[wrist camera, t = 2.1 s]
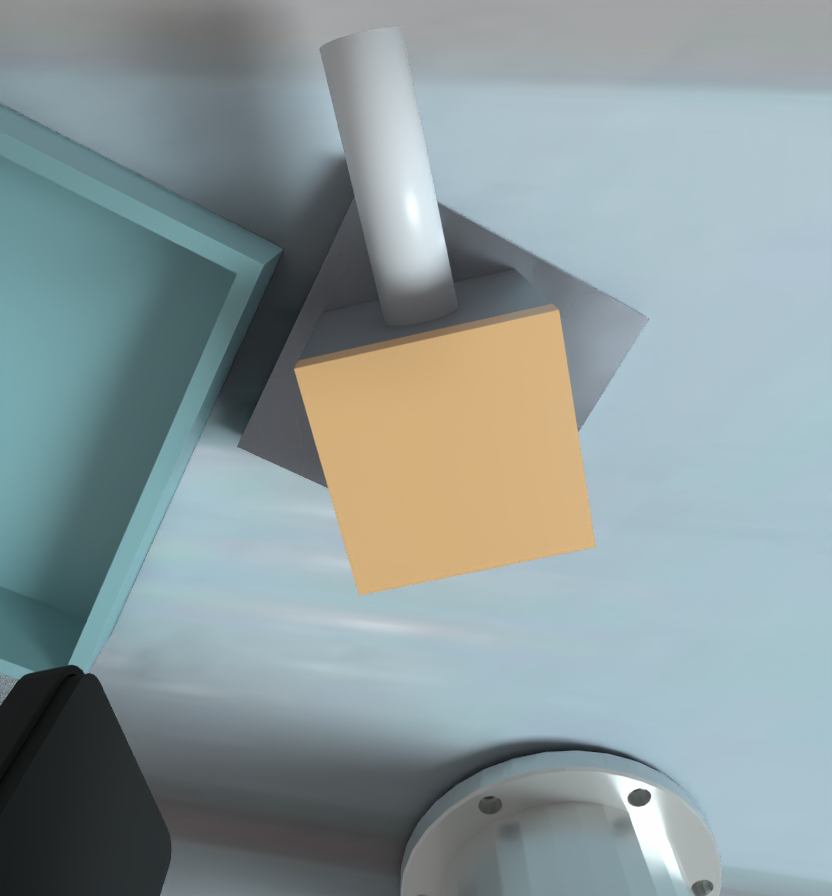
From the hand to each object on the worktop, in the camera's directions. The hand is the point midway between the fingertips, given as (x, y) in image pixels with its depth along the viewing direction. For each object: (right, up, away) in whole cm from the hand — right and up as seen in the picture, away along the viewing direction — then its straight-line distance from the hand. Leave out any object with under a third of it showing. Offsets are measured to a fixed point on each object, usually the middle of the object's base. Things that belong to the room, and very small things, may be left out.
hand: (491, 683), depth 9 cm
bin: (-13, +5, +14) cm, 20 cm away
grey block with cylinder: (-1, +7, +12) cm, 14 cm away
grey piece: (0, +5, +14) cm, 15 cm away
